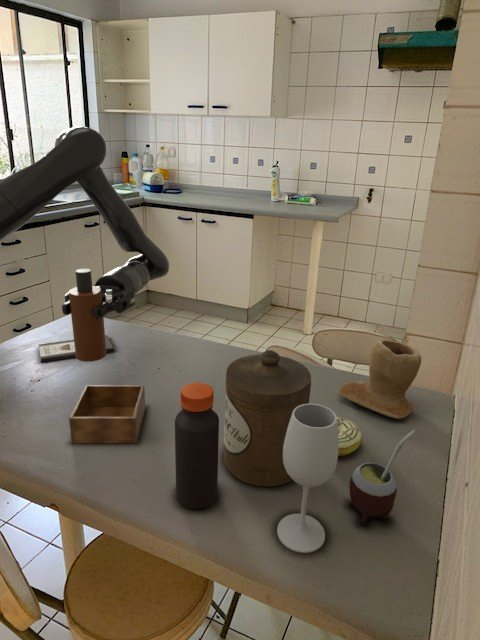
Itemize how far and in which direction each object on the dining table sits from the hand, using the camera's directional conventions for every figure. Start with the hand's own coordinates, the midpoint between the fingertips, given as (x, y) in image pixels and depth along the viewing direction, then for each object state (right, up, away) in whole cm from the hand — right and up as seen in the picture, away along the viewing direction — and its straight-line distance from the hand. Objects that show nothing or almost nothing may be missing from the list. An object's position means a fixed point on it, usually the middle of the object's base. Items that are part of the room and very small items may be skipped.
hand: (80, 312), depth 89 cm
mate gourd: (+52, -33, -14) cm, 63 cm away
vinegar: (+24, -31, -12) cm, 41 cm away
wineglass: (+40, -34, -19) cm, 56 cm away
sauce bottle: (0, -9, +6) cm, 11 cm away
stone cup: (+62, -21, +16) cm, 67 cm away
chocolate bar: (-13, -10, +35) cm, 39 cm away
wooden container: (+35, -28, -3) cm, 45 cm away
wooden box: (+4, -23, +5) cm, 24 cm away
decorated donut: (+49, -26, +2) cm, 55 cm away
